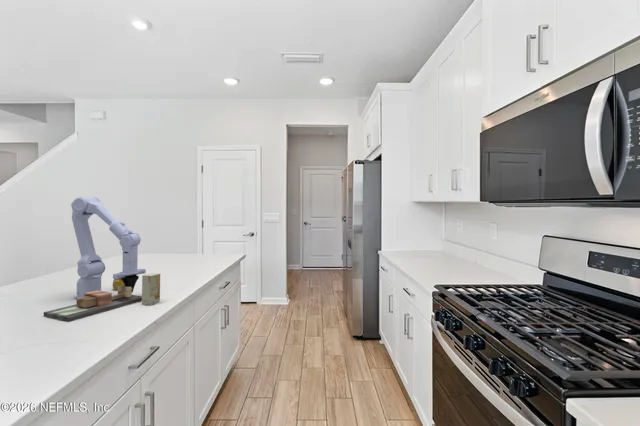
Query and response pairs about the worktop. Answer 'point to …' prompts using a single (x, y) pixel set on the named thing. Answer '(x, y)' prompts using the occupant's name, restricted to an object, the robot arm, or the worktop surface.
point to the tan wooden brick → (92, 300)
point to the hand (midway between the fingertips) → (129, 292)
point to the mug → (117, 283)
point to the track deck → (102, 305)
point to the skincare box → (150, 288)
